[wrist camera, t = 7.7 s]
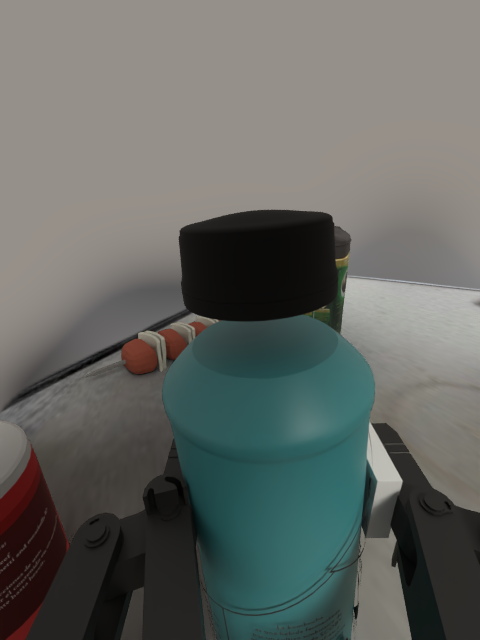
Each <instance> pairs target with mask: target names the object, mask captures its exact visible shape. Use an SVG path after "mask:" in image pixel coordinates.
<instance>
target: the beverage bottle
mask: <svg viewBox="0 0 480 640" xmlns="http://www.w3.org/2000/svg"><path fill="white" fill-rule="evenodd" d="M179 245H180V256H181V267H182V282H181V286H182V294H183V299H184V304H185V306H186V308H187V309H188V310H189V311H191V312H192V313H194V314H197V315H199V316H202V317H206V318H210V319H216V320H221V321H219V322H217V323H215V324H213V325H211V326H209V327H208V328H206V329H205V330H203V331H202V332H201V333H200V334H199V335H198V336H197V337H196V338H195V339H193V340H192V341H191V343H190V344H189V345H188V346H187V347H186V348H185V349H184V350H183V351H182V352H181V354H180V355H179V356H178V357H177V358H176V360H175V361H174V362H173V364H172V365H171V367H170V369H169V370H168V372H167V374H166V376H165V379H164V384H163V389H162V399H163V403H164V407H165V411H166V414H167V416H168V418H169V420H170V422H171V426H172V431H173V435H174V440H175V444H176V448H177V453H178V457H179V462H180V466H181V471H182V475H183V479H184V480H185V483H186V486H187V491H188V498H189V502H190V505H191V507H192V510H193V514H194V520H195V525H196V530H197V541H198V546H199V550H200V554H201V565H202V570H203V575H204V580H205V585H206V589H207V592H206V591H205V592H206V593H207V595H208V599H209V603H210V608H211V610H207V611H211V612H209V613H212V614H211V615H212V616H211V617H212V619H213V622H214V625H213V623H212V622H211V624H212V625H213V626H214V627H213V628H215V629H214V630H215V632H216V635H215V633H214V635H215V636H217V637H216V638H217V639H215V640H351V630H352V620H353V618H354V615H353V609H354V613H355V619H356V618H357V615H358V605H359V603H358V605H357V606H356V607H354V598H355V587H356V577H357V572H358V570H357V566H358V564H359V563H358V558H359V557H361V554H362V552H363V550H364V548H363V550H362V552H360V551H359V550H360V549H361V548H360V549H359V545H361V544H360V534H361V524H362V520H363V518H362V513H363V502H364V492H365V481H366V465H367V445H368V432H369V419H370V411H371V409H372V406H373V402H374V397H375V382H374V377H373V373H372V370H371V368H370V366H369V364H368V363H367V361H366V360H365V358H364V357H363V356H362V355H361V354H360V353H359V351H358V350H357V349H356V348H355V347H354V346H353V345H352V344H350V343H349V342H348V341H347V340H346V339H345V338H344V337H342V336H341V335H340V334H339V333H338V332H336V331H335V330H334V329H332V328H331V327H329V326H328V325H327V324H325V323H323V322H321V321H319V320H317V319H314V318H311V317H308V316H305V315H303V314H306V313H310V312H313V311H315V310H318V309H320V308H322V307H325V306H326V305H328V304H329V303H331V302H332V301H333V300H334V299H335V298H336V297H337V294H338V269H337V266H336V255H335V231H334V223H333V220H332V216H331V215H329V214H327V213H323V212H307V211H293V210H257V211H247V212H240V213H234V214H229V215H225V216H221V217H217V218H213V219H209V220H206V221H202V222H198V223H194V224H190V225H187V226H185V227H183V228H182V229H181V230H180V236H179ZM369 437H370V434H369ZM370 443H371V440H370ZM371 452H372V446H371ZM369 474H370V473H369ZM371 481H372V480H371V478H370V480H369V486H370V484H371ZM370 489H371V487H370ZM368 494H369V495H370V492H368ZM368 500H370V496H369V498H368ZM367 503H368V502H367ZM366 507H367V506H366ZM368 508H369V506H368ZM365 511H366V509H365ZM364 514H365V513H364ZM363 517H364V516H363ZM367 518H368V516H367ZM366 527H367V524H366ZM365 535H366V534H365ZM365 537H366V536H365ZM364 545H365V544H364ZM360 547H361V546H360ZM359 553H361V554H360V556H359ZM361 569H362V563H361ZM361 569H360V570H359V572H360V571H361ZM361 572H362V571H361ZM361 574H362V573H361ZM358 583H359V575H358ZM201 584H202V583H201ZM202 586H203V585H202ZM202 586H201V587H202ZM360 586H361V585H360ZM203 589H204V588H203ZM203 589H202V590H203ZM204 590H205V589H204ZM204 595H205V594H204ZM204 595H203V596H204ZM205 598H206V597H205ZM205 601H207V599H206V600H205ZM207 603H208V601H207ZM207 607H209V606H207ZM210 608H209V609H210ZM209 613H208V614H209ZM209 618H210V617H209ZM210 619H211V618H210ZM210 621H211V620H210ZM211 624H210V625H211ZM356 624H357V621H356ZM356 624H355V625H356ZM353 627H354V625H353ZM213 628H212V631H213ZM355 633H356V632H355ZM214 638H215V637H214ZM213 640H214V639H213Z"/></svg>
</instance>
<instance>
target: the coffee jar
mask: <svg viewBox="0 0 480 640" xmlns="http://www.w3.org/2000/svg"><path fill="white" fill-rule="evenodd" d="M334 231H335V255H336V266H337V269H338V294H337V297H336V298H335V299H334V300H333V301H332V302H331V303H329V304H328V305H326V306H325V307H322V308H320V309H318V310H315V311H313V312H310V313H306V314H303V315H305V316H308V317H311V318H314V319H317V320H319V321H321V322H323V323H325V324H327V325H328V326H329V327H331V328H332V329H334V330H335V331H336V332H338V333H339V334H340V332H341V323H342V313H343V304H344V296H345V288H346V279H347V270H348V261H349V251H350V242H351V239H350V235H349V234H348V233H347V232H346V231H344V230H342V229H341V228H340V227H336V226H334Z"/></svg>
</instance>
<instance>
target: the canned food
mask: <svg viewBox="0 0 480 640" xmlns="http://www.w3.org/2000/svg"><path fill="white" fill-rule="evenodd" d="M68 548H69V543H68V540H67V538H66V535H65V532H64V530H63V527H62V524H61V522H60V519H59V516H58V514H57V511H56V508H55V506H54V503H53V500H52V497H51V495H50V492H49V489H48V487H47V484H46V481H45V479H44V476H43V473H42V471H41V468H40V465H39V463H38V460H37V457H36V454H35V453H34V451H33V448H32V445H31V443H30V440H29V439H28V438H27V436H26V434H25V432H24V431H23V430H22V428H21V427H19V426H17V425H15V424H14V423H10V422H6V421H0V640H25V639H26V637H27V635H28V633H29V630H30V628H31V626H32V624H33V622H34V620H35V618H36V616H37V614H38V612H39V609H40V607H41V605H42V603H43V601H44V599H45V597H46V595H47V593H48V591H49V588H50V586H51V584H52V582H53V580H54V578H55V576H56V574H57V572H58V570H59V567H60V565H61V563H62V561H63V559H64V557H65V555H66V553H67V551H68Z"/></svg>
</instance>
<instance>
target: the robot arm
mask: <svg viewBox="0 0 480 640" xmlns="http://www.w3.org/2000/svg"><path fill="white" fill-rule="evenodd" d="M369 434H370V437H369ZM370 440H371V443H370ZM371 446H372V452H371ZM369 473H370V474H369ZM370 478H371V480H372V481H371V484H370V486H369V480H370ZM370 487H371V489H370ZM368 492H370V495H369V494H368ZM369 496H370V500H368V498H369ZM143 501H144V505H145V510H143V511H142V512H139V513H137V514H135V515H132V516H129V517H126V518H123V519H120V520H119V519H118V518H117V517H116V516H115V515H114V514H110V513H103V514H98V515H96V516H94V517H92V518H90V519H88V520H87V521H86V522H85V523H84V524H83V525H82V526H81V527H80V528H79V530H78V531H77V533H76V534H75V536H74V538H73V540H72V542H71V544H70V546H69V548H68V551H67V553H66V555H65V557H64V559H63V561H62V563H61V565H60V567H59V570H58V572H57V574H56V576H55V578H54V580H53V582H52V584H51V586H50V588H49V591H48V593H47V595H46V597H45V599H44V601H43V603H42V605H41V607H40V609H39V612H38V614H37V616H36V618H35V620H34V622H33V624H32V626H31V628H30V630H29V633H28V635H27V637H26V639H25V640H120V638H121V634H122V630H123V626H124V623H125V619H126V615H127V611H128V607H129V604H130V600H131V596H132V592H133V590H136V589H138V588H140V587H143V586H144V609H143V636H142V640H206V637H205V628H204V618H203V609H202V599H201V590H200V581H199V571H198V562H197V553H196V541H197V530H196V525H195V520H194V514H193V510H192V507H191V505H190V502H189V498H188V491H187V486H186V483H185V480H184V479H183V475H182V471H181V466H180V462H179V457H178V453H177V448H176V444H175V440H174V439H173V442H172V446H171V450H170V453H169V458H168V460H167V464H166V468H165V471H164V474H163V475H160V476H158V477H156V478H155V479H153V480H152V481H151V482H150V483H149V484H148V485H147V487H146V488H145V490H144V494H143ZM367 502H368V503H367ZM366 506H367V507H366ZM368 506H369V508H368ZM365 509H366V511H365ZM364 513H365V514H364ZM363 516H364V517H363ZM367 516H368V518H367ZM362 518H363V520H362V524H361V526H362V528H363V531H364V534H366V535H365V536H366V538H388V537H389V533H390V529H391V528H392V530H393V532H394V534H395V537H396V539H397V542H396V545H395V549H394V553H393V556H392V566H393V567H395V566H396V563H398V568H399V573H400V579H401V584H402V589H403V595H404V600H405V605H406V610H407V616H408V621H409V626H410V632H411V637H412V640H480V513H478V512H475V511H471V510H467V509H464V508H461V507H458V506H455V505H454V504H453V502H452V501H451V500H450V499H449V498H447V497H446V496H445V495H444V494H442V493H441V492H439V491H437V490H435V489H433V488H432V486H431V485H430V483H429V482H428V480H427V479H426V477H425V476H424V474H423V472H422V471H421V469H420V468H419V466H418V465H417V463H416V462H415V460H414V458H413V457H412V455H411V454H409V451H408V449H407V447H406V446H405V445H404V443H403V441H402V440H401V438H400V437H399V435H398V433H397V432H396V431H395V430H393V429H392V428H391V427H390V426H389V425H387V424H386V423H376V424H371V423H370V421H369V432H368V445H367V465H366V481H365V492H364V502H363V513H362ZM366 524H367V527H366Z"/></svg>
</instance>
